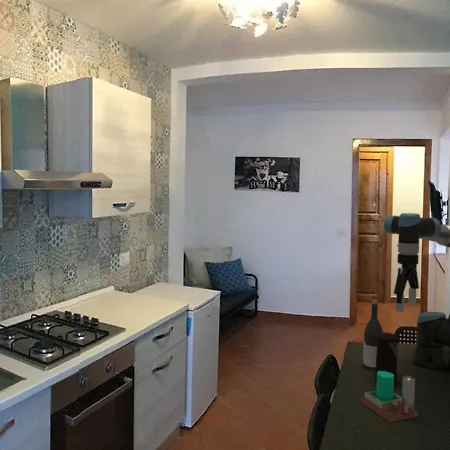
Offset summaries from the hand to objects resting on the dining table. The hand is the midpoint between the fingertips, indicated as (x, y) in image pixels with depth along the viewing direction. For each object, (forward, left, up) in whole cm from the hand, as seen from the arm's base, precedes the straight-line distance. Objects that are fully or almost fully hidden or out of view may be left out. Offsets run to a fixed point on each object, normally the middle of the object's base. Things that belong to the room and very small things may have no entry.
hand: (406, 308), depth 185 cm
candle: (+16, +9, -31) cm, 36 cm away
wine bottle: (-4, -24, -33) cm, 41 cm away
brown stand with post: (+16, +11, -33) cm, 38 cm away
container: (+1, -9, -33) cm, 34 cm away
